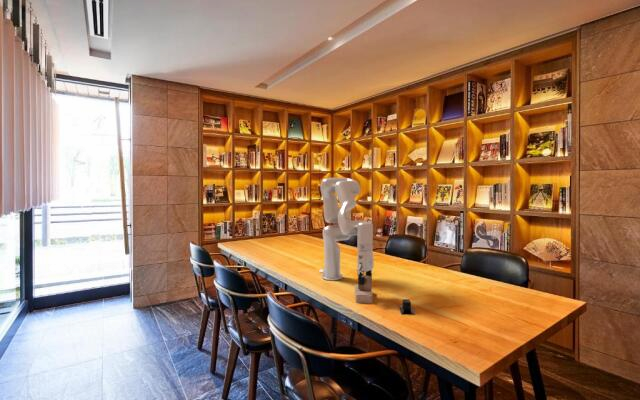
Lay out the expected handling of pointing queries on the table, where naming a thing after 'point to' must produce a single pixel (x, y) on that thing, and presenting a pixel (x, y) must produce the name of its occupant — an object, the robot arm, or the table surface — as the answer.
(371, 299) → the brick
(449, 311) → the table surface
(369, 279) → the brown wooden block
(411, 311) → the black piece
